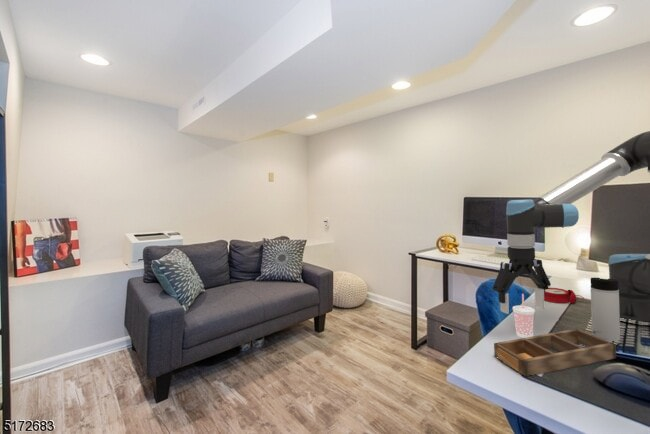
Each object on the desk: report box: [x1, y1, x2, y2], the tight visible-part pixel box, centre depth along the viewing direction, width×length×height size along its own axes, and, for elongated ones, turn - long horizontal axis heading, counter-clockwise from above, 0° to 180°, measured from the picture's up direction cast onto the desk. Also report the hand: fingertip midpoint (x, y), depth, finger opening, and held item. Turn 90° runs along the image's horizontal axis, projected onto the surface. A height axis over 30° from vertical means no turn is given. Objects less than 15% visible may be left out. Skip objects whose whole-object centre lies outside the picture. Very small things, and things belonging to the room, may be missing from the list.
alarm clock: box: [544, 287, 585, 305], centre depth 125 cm, size 10×6×15 cm
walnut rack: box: [493, 328, 617, 377], centre depth 83 cm, size 30×10×4 cm, turn 101°
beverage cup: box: [512, 293, 536, 338], centre depth 97 cm, size 6×6×14 cm
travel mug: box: [590, 277, 621, 341], centre depth 89 cm, size 6×7×20 cm
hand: (522, 310), depth 97 cm, fingers open, 13 cm apart
